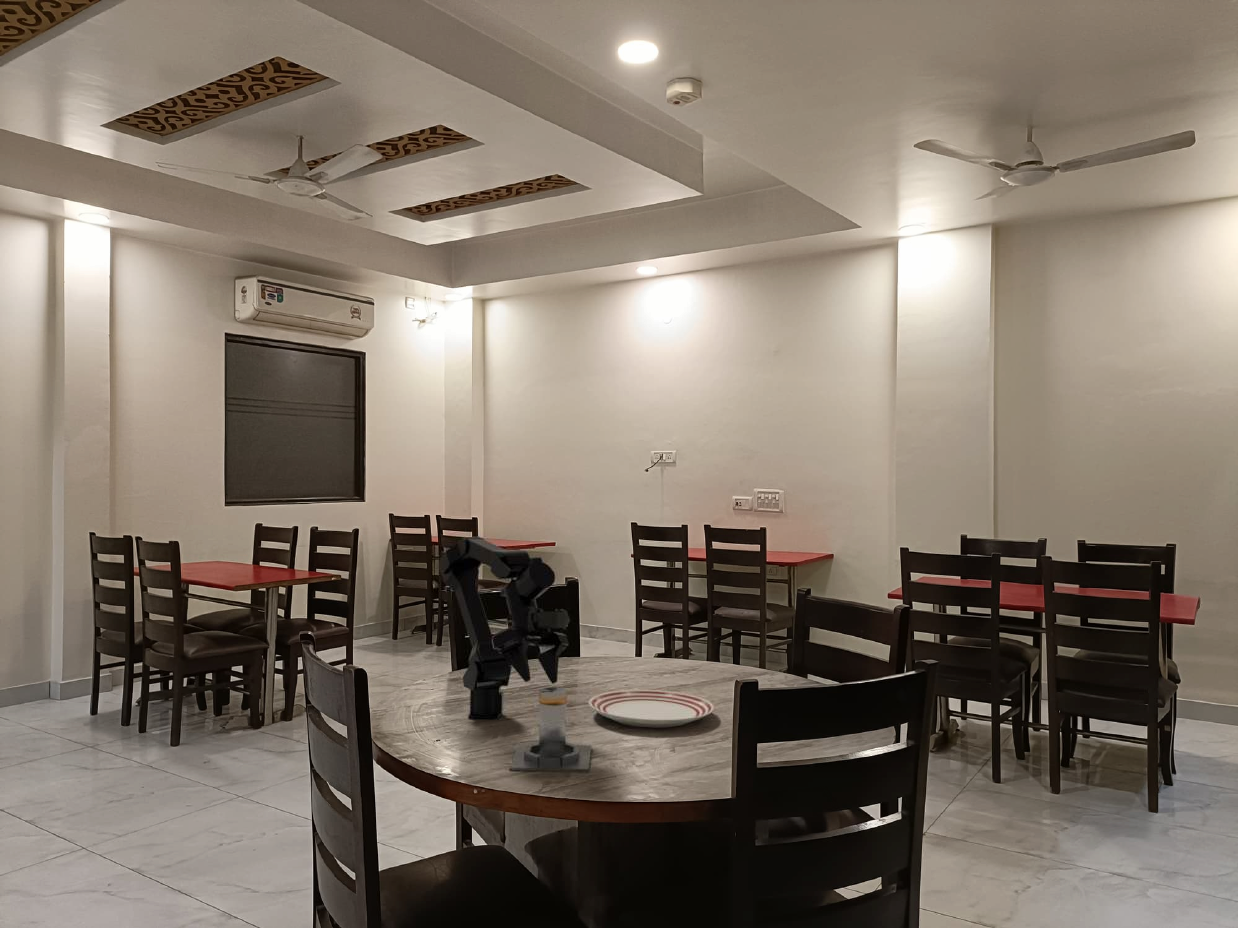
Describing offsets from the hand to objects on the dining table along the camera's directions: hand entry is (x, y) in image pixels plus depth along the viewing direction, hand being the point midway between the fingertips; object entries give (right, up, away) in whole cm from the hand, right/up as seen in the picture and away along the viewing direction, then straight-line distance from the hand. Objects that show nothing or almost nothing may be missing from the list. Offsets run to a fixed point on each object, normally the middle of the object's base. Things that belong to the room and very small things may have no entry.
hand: (541, 681), depth 178 cm
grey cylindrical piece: (+3, -11, -11) cm, 16 cm away
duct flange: (+3, -12, -11) cm, 16 cm away
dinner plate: (+22, -13, +20) cm, 33 cm away
